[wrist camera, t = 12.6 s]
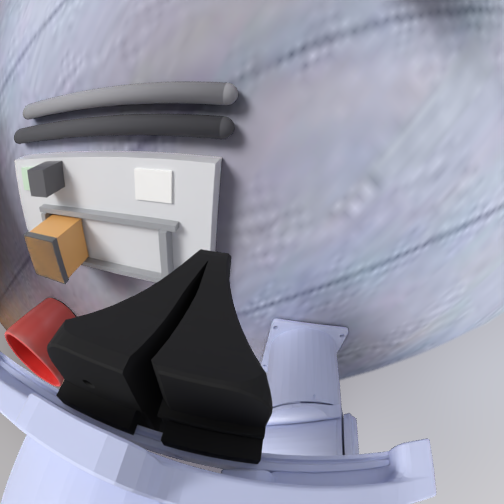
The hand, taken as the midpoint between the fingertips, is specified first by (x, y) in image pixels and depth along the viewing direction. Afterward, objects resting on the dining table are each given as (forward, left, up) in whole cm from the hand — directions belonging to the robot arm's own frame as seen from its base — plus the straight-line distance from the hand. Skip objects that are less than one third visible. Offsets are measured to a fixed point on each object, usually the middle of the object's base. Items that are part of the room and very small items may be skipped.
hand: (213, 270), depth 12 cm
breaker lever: (-5, +16, -8) cm, 18 cm away
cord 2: (+5, +13, -10) cm, 17 cm away
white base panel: (-3, +13, -10) cm, 17 cm away
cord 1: (+7, +12, -10) cm, 17 cm away
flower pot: (-22, +26, -10) cm, 36 cm away
